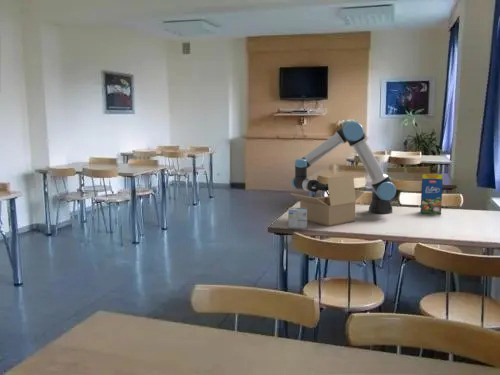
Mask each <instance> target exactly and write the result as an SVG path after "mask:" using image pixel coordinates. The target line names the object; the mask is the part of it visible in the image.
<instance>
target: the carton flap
mask: <svg viewBox="0 0 500 375" xmlns="http://www.w3.org/2000/svg"><path fill="white" fill-rule="evenodd" d="M326 178H327V184H328V190H329V192H328V193H329V199H330V206H333V205H340V204H346V203H352V202H355V203H356V202H357V200H356V197H355V181H354V175H353V174H351V175H342V176H341V175H340V176H334V177H332V176H331V177H326Z"/></svg>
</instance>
